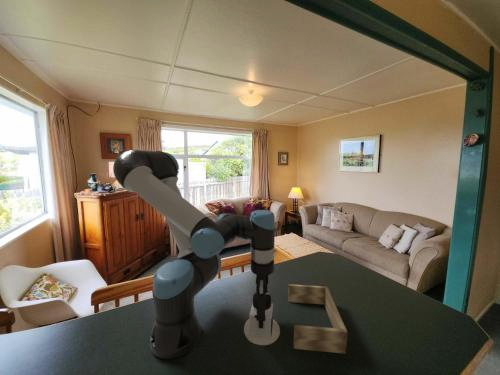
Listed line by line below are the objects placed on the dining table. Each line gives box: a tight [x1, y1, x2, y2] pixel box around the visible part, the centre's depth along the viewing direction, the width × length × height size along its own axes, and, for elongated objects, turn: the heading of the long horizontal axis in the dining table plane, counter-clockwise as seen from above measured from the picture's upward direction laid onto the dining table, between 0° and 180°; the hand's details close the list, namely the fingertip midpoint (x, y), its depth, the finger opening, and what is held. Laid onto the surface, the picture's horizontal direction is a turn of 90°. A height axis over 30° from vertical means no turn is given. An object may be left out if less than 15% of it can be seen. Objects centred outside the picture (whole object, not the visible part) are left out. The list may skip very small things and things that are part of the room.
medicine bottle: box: [248, 291, 274, 338], centre depth 68 cm, size 7×7×12 cm
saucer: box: [243, 318, 281, 346], centre depth 69 cm, size 12×12×1 cm
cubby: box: [287, 283, 348, 355], centre depth 71 cm, size 15×22×7 cm
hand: (261, 323), depth 68 cm, fingers open, 9 cm apart
